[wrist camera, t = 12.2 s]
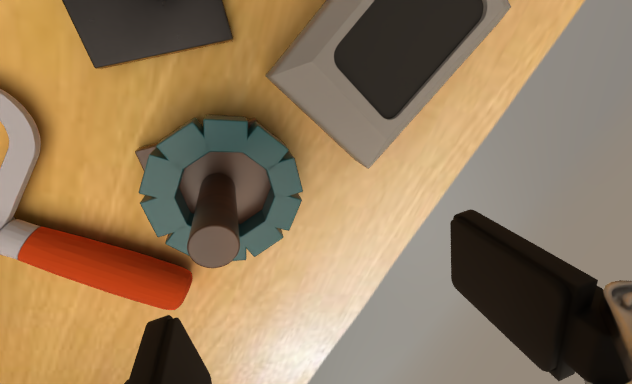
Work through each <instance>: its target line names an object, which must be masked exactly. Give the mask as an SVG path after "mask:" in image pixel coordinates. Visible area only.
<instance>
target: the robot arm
mask: <svg viewBox="0 0 632 384" xmlns="http://www.w3.org/2000/svg"><path fill="white" fill-rule="evenodd" d="M451 274H452V275H451V278H452V283H453V285H454V287H455V288H456V289H457V290H458V291H459V292H460V293H461V294H462V295H463V296H464V297H465V298H466V299H467V300H468V301H469V302H471V303H472V304H473V305H474V306H475V307H476V308H477V309H478V310H479V311H480V312H481V313H482V314H483V315H484V316H485V317H486V318H487V319H488V320H489V321H490V322H491V323H492V324H494V325H495V326H496V327H497V328H498V329H499V330H500V331H501V332H502V333H503V334H504V335H505V336H506V337H507V338H508V339H509V340H510V341H511V342H513V344H515V345H516V346H517V347H518V348H519V349H520V350H521V351H522V352H523V353H524V354H525V355H526V356H527V357H528V358H529V359H530V360H531V361H532V362H534V363H535V364H536V365H537V366H538V367H539V368H540V369H541V370H543V371H546V372H550V373H551V374H552V375H553V376H554V377H555V378H556V379H557V380H558V381H560V380H562V379H564V378H567V377H569V376H571V375H573V374H574V373H575V372H576V373H578V374H579V375H580V376H581V377H582V378H583V379H584V381H585V384H632V281H621V280H620V281H615V282H611V283H609V284H607V285H606V286H605V288H604V290H603V289H602V288H600V287H598V286H597V281H598V280H596V279H595V278H593V277H591V276H590V275H588V274H586V273H584V272H582V271H581V270H579V269H577V268H575V267H574V266H572V265H570V264H568V263H566V262H565V261H563V260H561V259H559V258H558V257H556V256H554V255H552V254H550V253H549V252H547V251H545V250H544V249H542V248H540V247H538V246H536V245H535V244H533V243H531V242H529V241H528V240H526V239H524V238H522V237H520V236H519V235H517V234H515V233H513V232H511V231H510V230H508V229H506V228H505V227H503V226H501V225H499V224H498V223H496V222H494V221H492V220H490V219H489V218H487V217H485V216H483V215H482V214H480V213H478V212H476V211H474V210H467V211H464V212H462V213H459V214H456V215H455V216H454V218H453V220H452V221H451ZM124 384H212V382H211V377H210V374H209V372H208V370H207V368H206V366H205V365H204V363H203V361H202V359H201V357H200V356H199V354H198V352H197V350H196V348H195V347H194V345H193V343H192V341H191V339H190V338H189V336H188V334H187V332H186V330H185V329H184V327H183V325H182V323H181V321H180V320H179V318H174V319H173V318H172V317H171V316H170V315H167V316H164V317H162V318H159V319H156V320H153V321H150V322H148V323H147V325H146V328H145V331H144V334H143V337H142V340H141V343H140V346H139V350H138V353H137V356H136V359H135V362H134V365H133V368H132V372H131V375H130V378H129V380H127V381H126V382H125V383H124Z"/></svg>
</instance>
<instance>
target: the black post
mask: <svg viewBox="0 0 632 384" xmlns="http://www.w3.org/2000/svg"><path fill="white" fill-rule="evenodd" d="M62 1H63V3H64V5H65V7H66V9H67V11H68V13H69V16H70V18H71V20H72V22H73V24H74V26H75V28H76V30H77V32H78V34H79V36H80V38H81V40H82V43H83V45H84V47H85V49H86V51H87V53H88V55H89V57H90V59H91V61H92V63H93V65H94V67H95V68H107V67H111V66H116V65H121V64H126V63H130V62H135V61H140V60H144V59H149V58H154V57H159V56H163V55H168V54H173V53H177V52H182V51H187V50H192V49H196V48H201V47H206V46H210V45H215V44H220V43H225V42H229V41H232V40H233V36H232V33H231V29H230V26H229V23H228V19H227V16H226V12H225V9H224V5H223V2H222V0H62Z"/></svg>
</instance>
